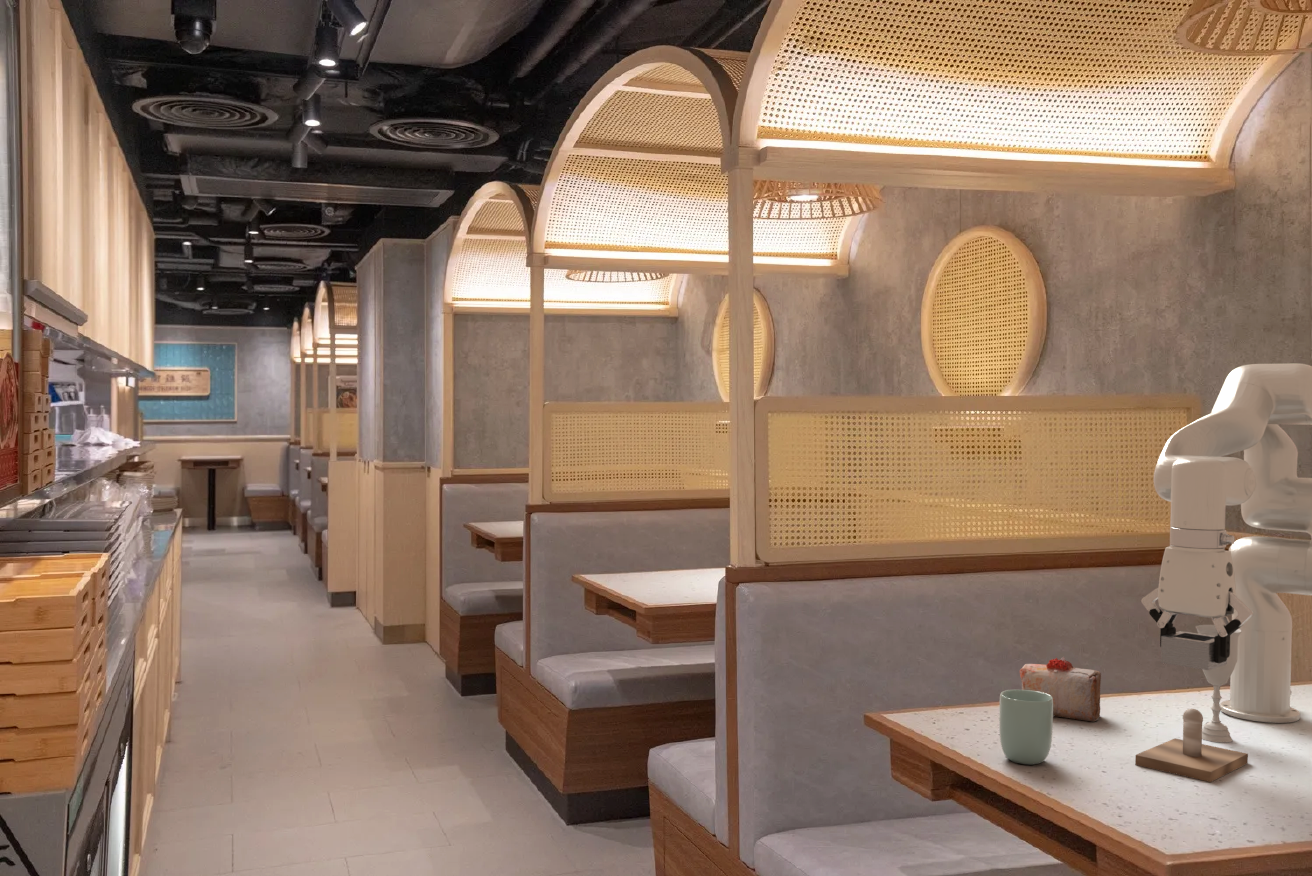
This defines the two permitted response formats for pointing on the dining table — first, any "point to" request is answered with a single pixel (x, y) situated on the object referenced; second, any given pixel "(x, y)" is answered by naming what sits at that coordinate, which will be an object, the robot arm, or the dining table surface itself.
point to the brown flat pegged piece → (1192, 754)
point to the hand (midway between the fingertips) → (1194, 656)
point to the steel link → (1189, 650)
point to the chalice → (1217, 678)
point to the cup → (1026, 725)
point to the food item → (1065, 688)
